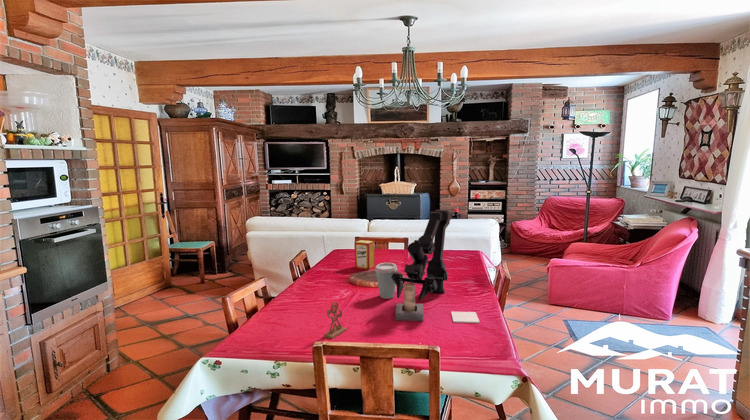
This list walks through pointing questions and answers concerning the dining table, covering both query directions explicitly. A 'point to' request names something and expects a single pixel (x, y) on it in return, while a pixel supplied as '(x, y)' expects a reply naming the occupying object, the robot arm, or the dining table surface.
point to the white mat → (465, 317)
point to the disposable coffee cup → (386, 279)
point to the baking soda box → (364, 255)
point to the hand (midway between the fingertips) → (408, 299)
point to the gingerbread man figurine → (338, 329)
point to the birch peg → (409, 297)
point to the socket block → (409, 313)
